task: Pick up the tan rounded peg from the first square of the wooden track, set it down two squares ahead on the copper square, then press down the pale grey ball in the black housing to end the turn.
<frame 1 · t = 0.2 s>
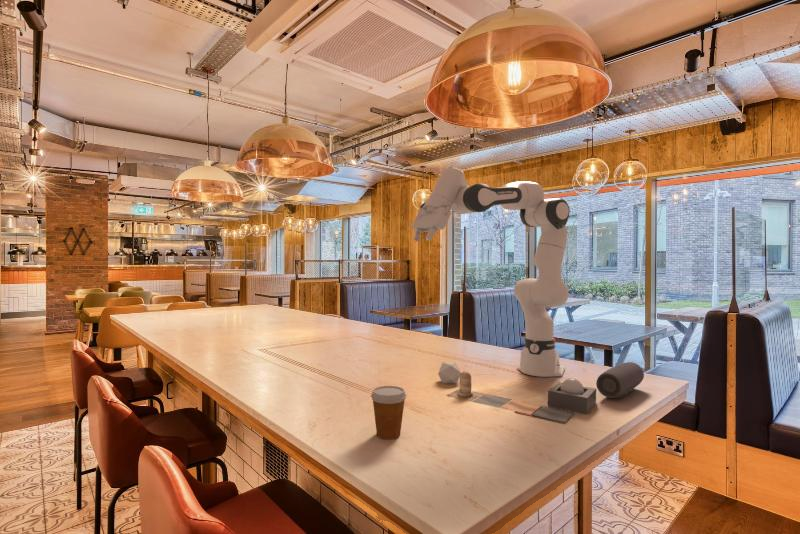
hand: (421, 240, 157), 54 cm above the table, tool tilted 30°, fingers open, 8 cm apart
bluetooth speaker: (620, 394, 155), on the table
die: (449, 383, 166), on the table
disposable coffee cup: (388, 435, 118), on the table
pale grey ball: (572, 389, 143), point 5 cm above the table, slide at 0.0 cm
tan rounded peg: (465, 394, 151), resting on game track
dome housing: (572, 404, 143), on the table
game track: (506, 404, 142), on the table
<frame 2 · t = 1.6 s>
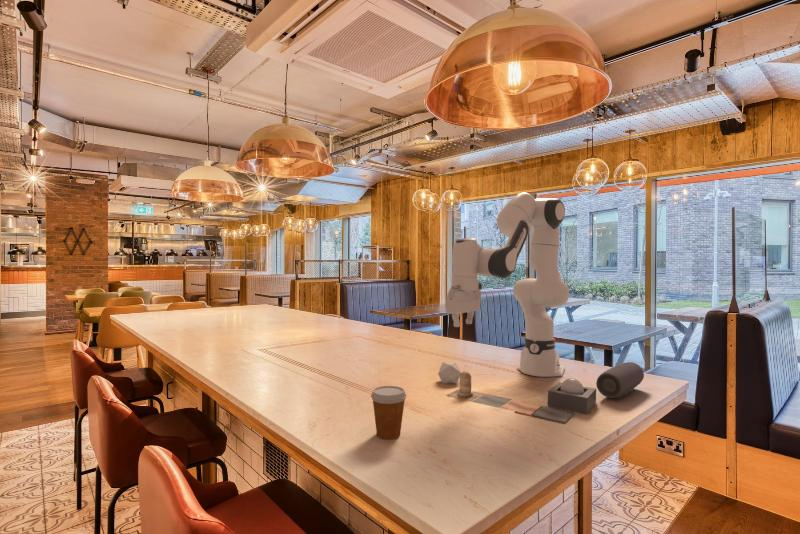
hand: (463, 325, 151), 24 cm above the table, tool pointing down, fingers open, 8 cm apart
nothing on the table moved.
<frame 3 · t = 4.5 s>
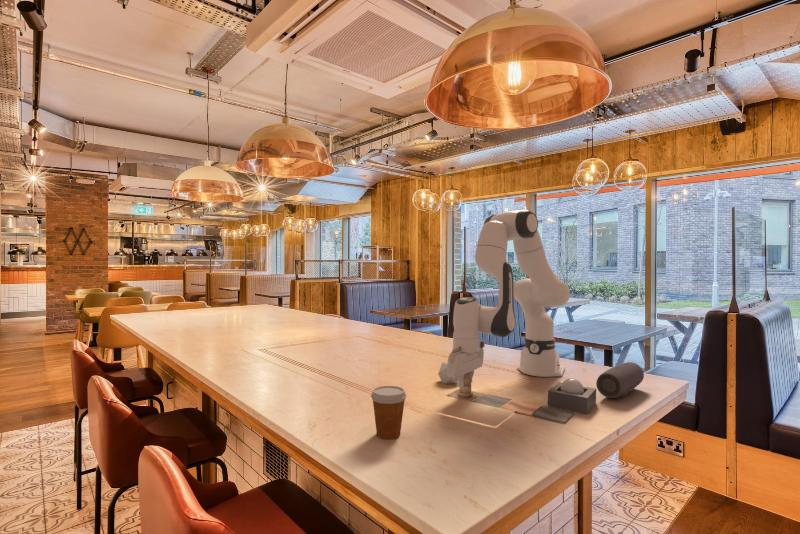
hand: (465, 385, 151), 4 cm above the table, tool pointing down, fingers closed on tan rounded peg, 4 cm apart
tan rounded peg: (465, 394, 151), point 1 cm above the table, touching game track, gripper
everything else where it was.
when the fingers open (6 cm above the table, at t = 10.3 s): tan rounded peg drops 2 cm, resting on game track.
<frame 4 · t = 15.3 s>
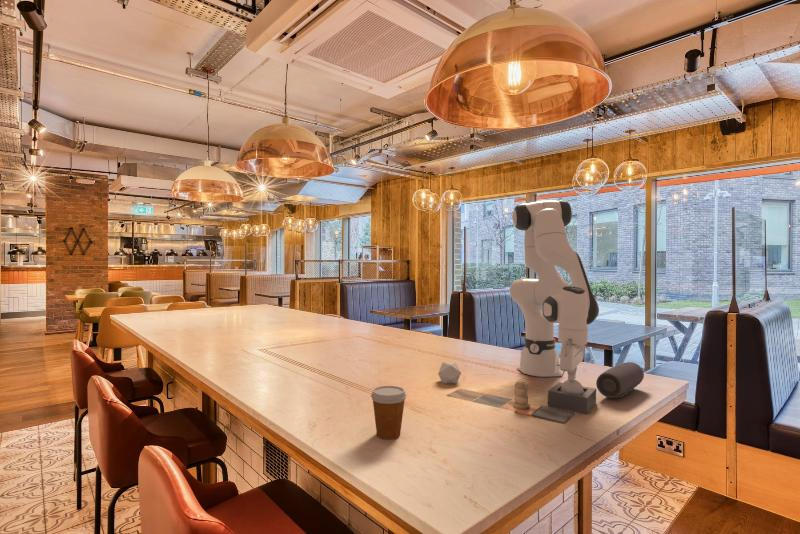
hand: (571, 379, 143), 8 cm above the table, tool pointing down, fingers closed
pale grey ball: (572, 390, 143), point 5 cm above the table, slide at 0.3 cm, touching gripper
tan rounded peg: (521, 405, 140), point 1 cm above the table, touching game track
everything else where it was.
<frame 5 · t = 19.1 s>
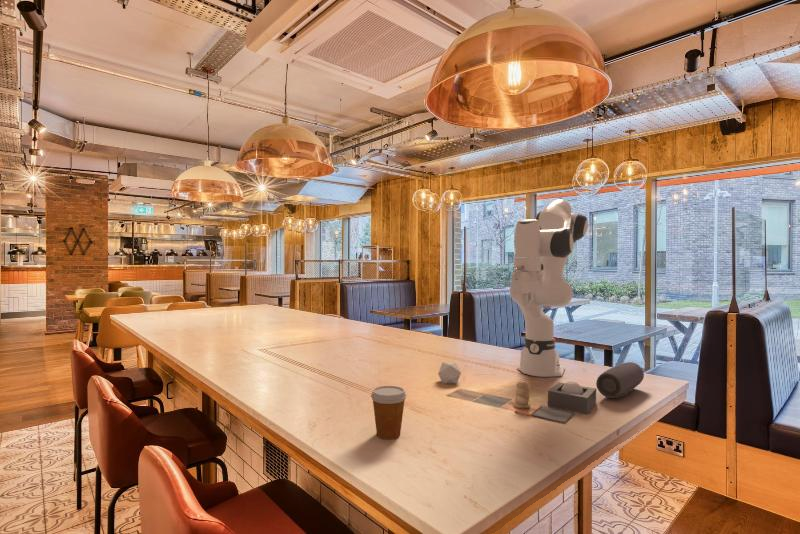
hand: (526, 305, 152), 31 cm above the table, tool pointing down, fingers closed
pale grey ball: (572, 392, 143), point 4 cm above the table, slide at 1.1 cm
everything else where it was.
at the end: tan rounded peg inside the target area (0.2 cm from its centre), point 0.6 cm above the table; tan rounded peg tilted 3°; pale grey ball slide at 1.1 cm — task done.
